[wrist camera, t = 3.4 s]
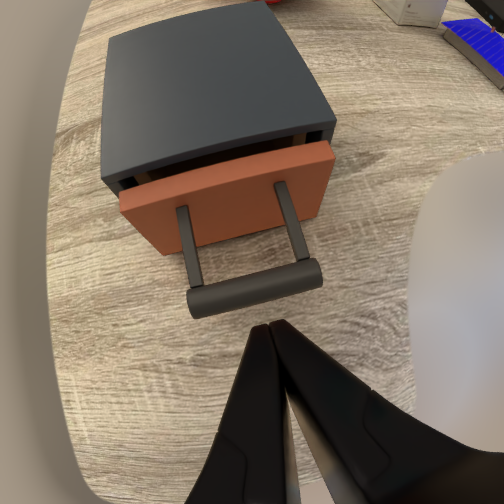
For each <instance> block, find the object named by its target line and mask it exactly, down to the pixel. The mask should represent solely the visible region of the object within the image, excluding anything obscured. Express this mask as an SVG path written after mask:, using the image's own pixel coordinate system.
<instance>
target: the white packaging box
mask: <svg viewBox="0 0 504 504" xmlns="http://www.w3.org/2000/svg"><path fill="white" fill-rule="evenodd" d="M373 1H374V2H375V3H376V4H377V5H378V6H379V7H380V8H381V9H382V10H383V11H384V12H385V13H386V14H387V15H388V16H389V17H390V18H391V19H392V20H393V21H394V22H395V23H396V24H398V25H417V26H426V27H432V28H437V26H438V24H439V21H440V19H441V17H442V14H443V12H444V9H445V7H446V4H447V1H448V0H373Z"/></svg>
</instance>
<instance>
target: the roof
mask: <svg viewBox="0 0 504 504" xmlns="http://www.w3.org/2000/svg"><path fill="white" fill-rule="evenodd" d="M441 24H443V25H444V26H445V27H446V28H447V30H446V32H445V35H444V37H443V38H444V39H446V40H447V41H448V42H449V43H451V44H452V45H453V46H454V47H455V48H457V49H458V50H459V51H460V52H461V53H462V54H464V55H465V56H466V57H467V58H468V59H469V60H470V61H471V62H472V63H474V64H475V65H476V66H477V67H478V68H479V69H480V70H481V71H482V72H483V73H484V74H485V75H486V76H487V77H488V78H489V79H490V80H491V81H492V82H493V83H494V84H495V85H496V86H497V87H498V88H499V89H502V88H503V87H504V39H503V38H502V37H501V36H500V35H499V34H498V33H496V32H495V29H496V28H495V27H494V26H493V27H492V29H491V28H490V27H489V26H487V25H486V24H484V23H483V22H482V21H480V20H479V19H478V18H474V19H464V20H455V21H447V22H441Z"/></svg>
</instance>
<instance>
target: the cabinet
mask: <svg viewBox="0 0 504 504" xmlns="http://www.w3.org/2000/svg"><path fill="white" fill-rule="evenodd" d="M336 122H337V119H336V117H335V115H334V113H333V111H332V109H331V107H330V105H329V104H328V102H327V100H326V98H325V96H324V95H323V93H322V91H321V89H320V87H319V86H318V84H317V82H316V80H315V79H314V77H313V75H312V73H311V72H310V70H309V68H308V67H307V65H306V63H305V62H304V60H303V58H302V57H301V55H300V54H299V52H298V50H297V49H296V47H295V46H294V44H293V42H292V41H291V39H290V38H289V36H288V35H287V33H286V32H285V30H284V29H283V27H282V26H281V24H280V23H279V21H278V20H277V18H276V17H275V15H274V14H273V12H272V11H271V10H270V8H269V7H268V5H267V4H266V2H265V1H264V0H263V1H255V2H247V3H240V4H234V5H228V6H222V7H217V8H212V9H207V10H202V11H198V12H193V13H189V14H185V15H181V16H177V17H173V18H169V19H166V20H162V21H158V22H155V23H152V24H148V25H145V26H142V27H139V28H136V29H133V30H130V31H127V32H124V33H121V34H119V35H116V36H113V37H111V38H109V43H108V51H107V59H106V68H105V78H104V89H103V103H102V122H101V179H102V181H103V182H104V183H105V184H106V185H107V186H108V187H109V188H110V189H111V191H112V192H113V193H114V194H115V195H116V196H117V197H118V199H119V192H121V191H124V190H127V189H130V188H133V187H136V186H140V185H139V183H138V182H137V181H136V179H135V178H134V175H138V174H141V173H144V172H147V171H150V170H154V169H157V168H160V167H164V166H167V165H171V164H174V163H178V162H181V161H185V160H188V159H192V158H196V157H199V156H203V155H207V154H211V153H215V152H219V151H223V150H227V149H231V148H235V147H240V146H244V145H248V144H253V143H257V142H262V141H267V140H271V139H276V138H281V137H286V136H291V135H297V134H302V133H307V134H306V140H305V144H309V143H314V142H319V141H325V140H327V141H328V142H329V145H330V144H331V140H332V136H333V133H334V128H335V126H336Z"/></svg>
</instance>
